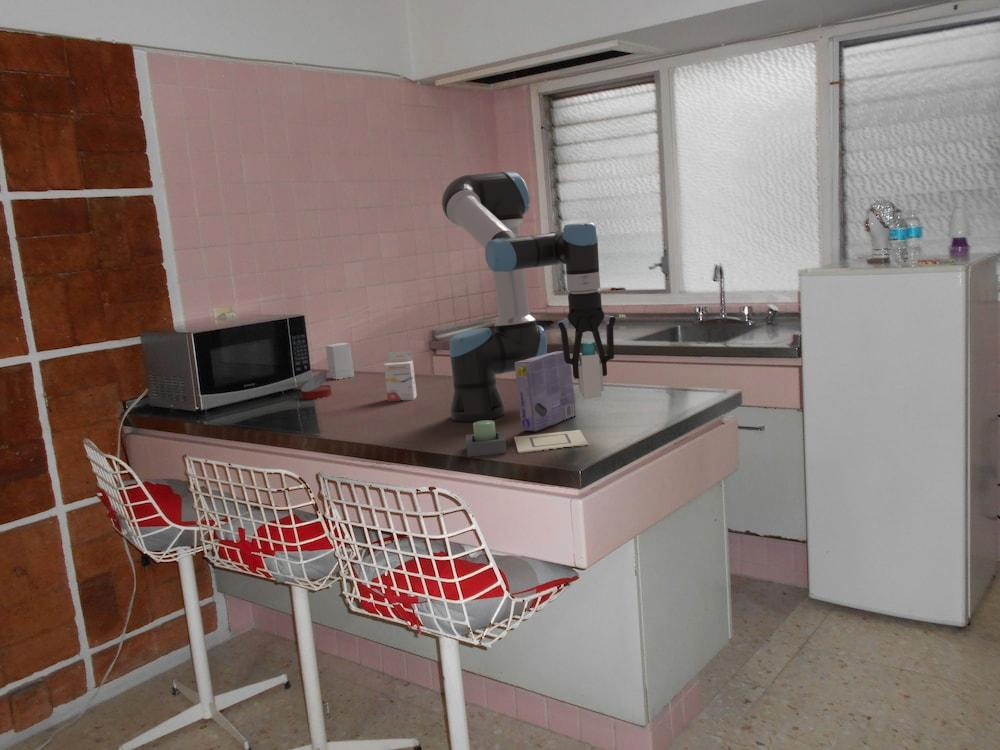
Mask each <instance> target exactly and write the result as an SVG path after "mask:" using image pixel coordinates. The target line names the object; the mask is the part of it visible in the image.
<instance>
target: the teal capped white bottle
mask: <svg viewBox="0 0 1000 750" xmlns="http://www.w3.org/2000/svg"><path fill="white" fill-rule="evenodd" d="M599 362H600V358H599V354H598V351H596V344H595V341H584V342H581V347H580V355H579V364H581V365H582V377H583V391H584V393H581V395H582V397H583V398H584V399H594V398H602V391H601V382H600V368H599Z"/></svg>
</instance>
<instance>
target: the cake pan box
mask: <svg viewBox="0 0 1000 750" xmlns="http://www.w3.org/2000/svg"><path fill="white" fill-rule="evenodd" d="M514 372H515V378H516V381H515V382H516V386H517V387H516V388H517V397H518V407H519V417H520V427H521V430H522V431H526V432H534V433H536V432H538V431H541V430H544V429H546V428H549V427H552V426H555V425H558V424H560V423H562V422H563V420H564V421H567V420H569V419H571V417H572V418H574V416H575V417H577V414H576V406H575V405H576V404H575V403H576V402H575V393H574V384H573V383H574V382H573V371H572V364H567V363H566V362H565V361H564V354H563V350H558V351H553V352H549V353H546V354H545V355H541V356H537V357H533V358H529V359H526V360H522V361H518V362H515V371H514ZM566 419H567V420H566ZM561 421H562V422H561ZM559 422H560V423H559ZM557 423H558V424H557Z"/></svg>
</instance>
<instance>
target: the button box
mask: <svg viewBox="0 0 1000 750" xmlns="http://www.w3.org/2000/svg"><path fill="white" fill-rule="evenodd" d="M495 432H496V440H487V441H478V442H475V439H474V433H473V434H465V446H466V455H467V458H471V456H474V457H481V456H480V455H483V456H489V455H491V454H492V455H499V454H507V453H508V450H507V440H506V436H505V432H504V430H501V431H500V430H499V431H495Z"/></svg>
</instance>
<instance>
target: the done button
mask: <svg viewBox="0 0 1000 750" xmlns="http://www.w3.org/2000/svg"><path fill="white" fill-rule="evenodd" d="M472 427H473V434H474V439H475V442H478V441H487V440H496V432H497V431H496V423H495V420H492V419H489V420H483V421H474V422H473V423H472Z"/></svg>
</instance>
